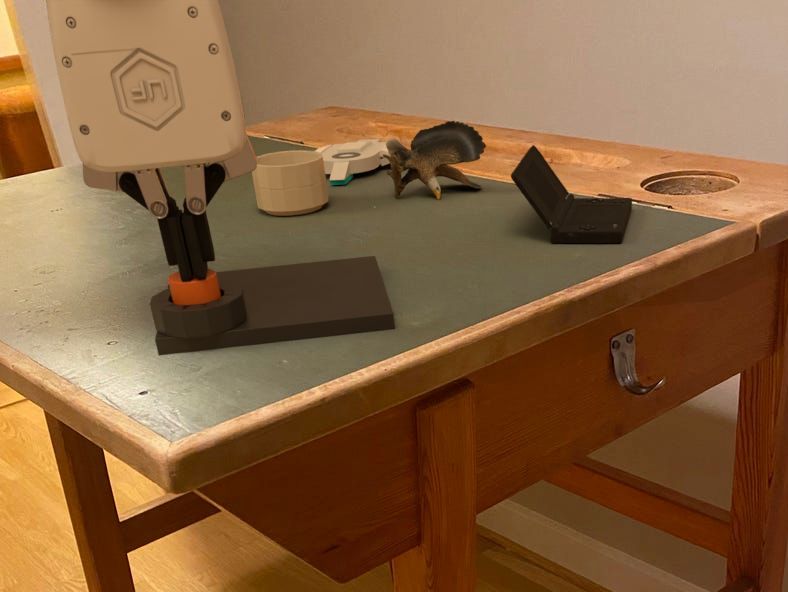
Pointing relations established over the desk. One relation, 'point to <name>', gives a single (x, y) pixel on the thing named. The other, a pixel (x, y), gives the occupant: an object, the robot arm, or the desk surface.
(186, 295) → the button
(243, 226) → the desk surface
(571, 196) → the handheld gaming console
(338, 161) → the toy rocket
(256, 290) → the scale
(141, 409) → the desk surface
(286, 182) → the bowl
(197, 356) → the desk surface
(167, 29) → the robot arm
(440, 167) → the triceratops head
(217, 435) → the desk surface
